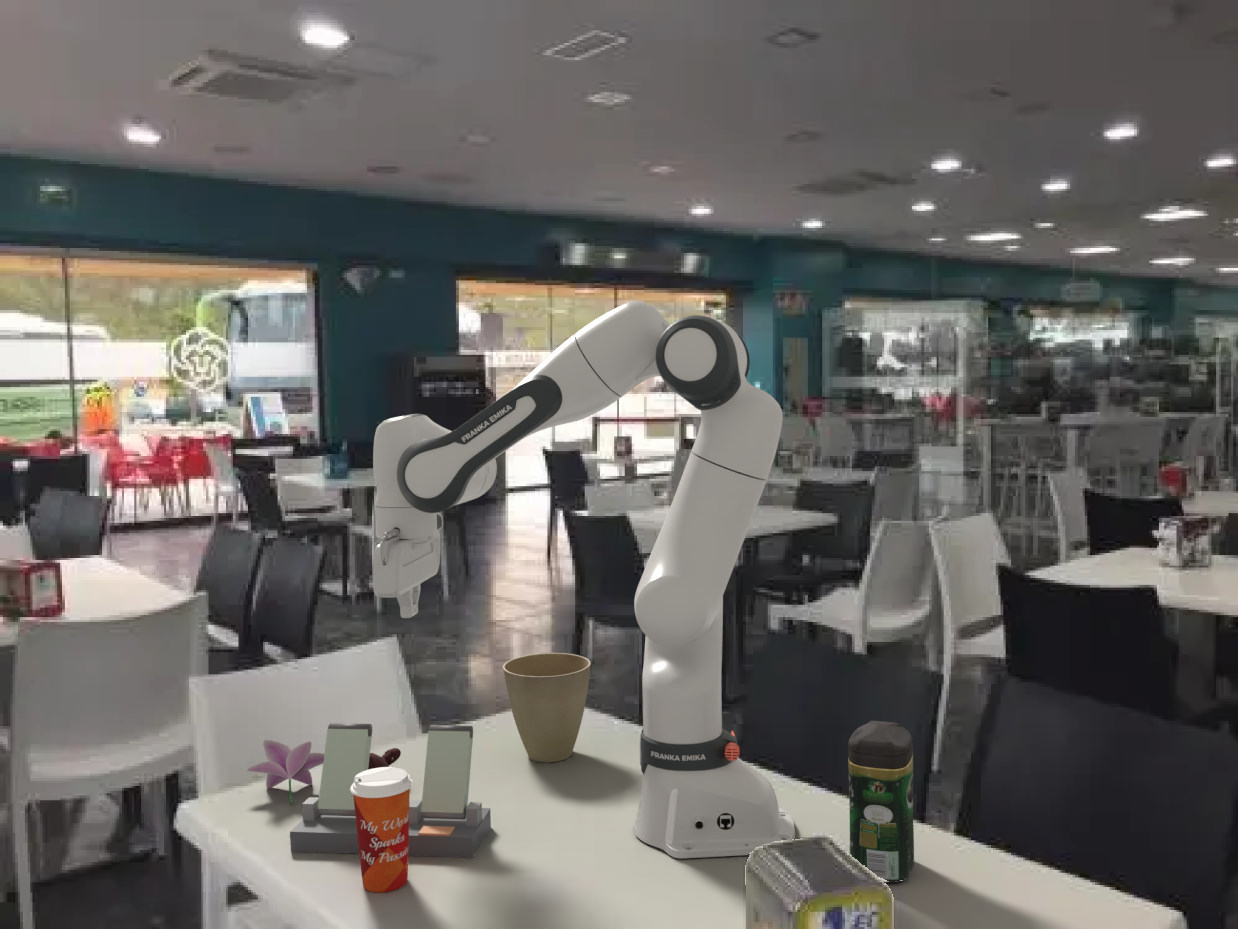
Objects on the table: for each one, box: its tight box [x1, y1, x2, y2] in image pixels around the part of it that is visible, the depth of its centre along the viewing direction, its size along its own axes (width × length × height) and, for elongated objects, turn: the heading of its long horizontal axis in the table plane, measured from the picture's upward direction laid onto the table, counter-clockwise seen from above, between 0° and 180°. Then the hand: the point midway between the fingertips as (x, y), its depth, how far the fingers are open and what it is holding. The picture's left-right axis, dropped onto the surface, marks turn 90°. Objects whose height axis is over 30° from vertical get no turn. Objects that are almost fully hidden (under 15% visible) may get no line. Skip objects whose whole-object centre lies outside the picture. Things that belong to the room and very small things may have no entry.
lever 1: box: [318, 722, 373, 816], centre depth 153 cm, size 6×2×13 cm, turn 83°
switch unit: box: [289, 796, 492, 859], centre depth 150 cm, size 26×10×5 cm, turn 83°
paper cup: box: [350, 766, 414, 894], centre depth 137 cm, size 8×8×14 cm
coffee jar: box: [847, 720, 915, 883], centre depth 137 cm, size 10×8×19 cm
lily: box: [246, 739, 325, 805], centre depth 167 cm, size 12×12×10 cm
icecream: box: [368, 747, 402, 770], centre depth 167 cm, size 7×7×15 cm
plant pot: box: [502, 652, 592, 763], centre depth 182 cm, size 15×15×16 cm
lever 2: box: [421, 724, 474, 820], centre depth 151 cm, size 6×2×13 cm, turn 83°
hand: (409, 616), depth 160 cm, fingers closed
